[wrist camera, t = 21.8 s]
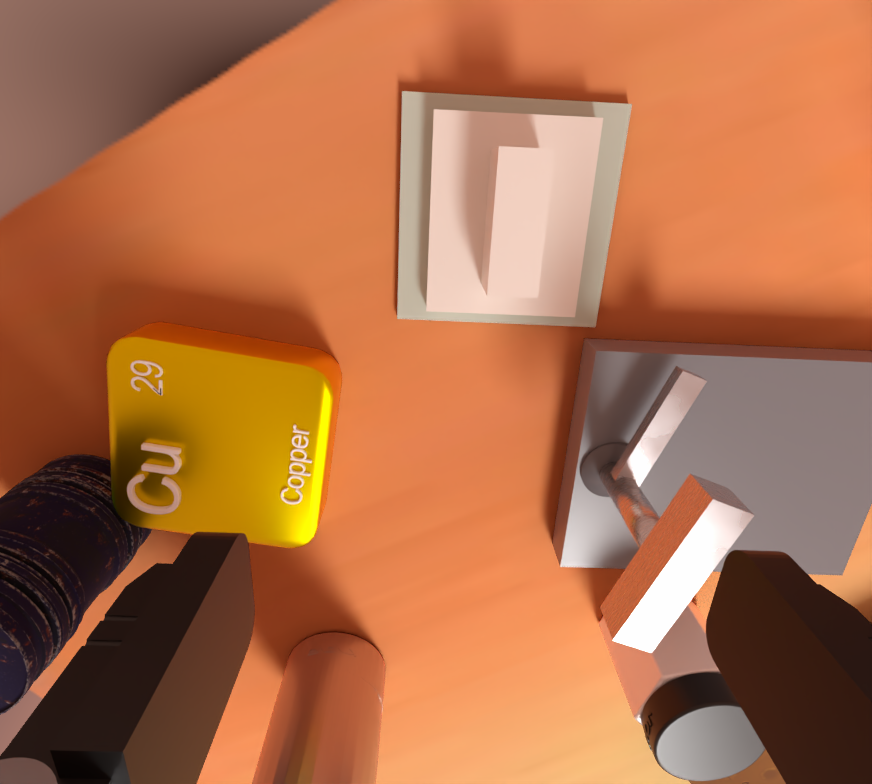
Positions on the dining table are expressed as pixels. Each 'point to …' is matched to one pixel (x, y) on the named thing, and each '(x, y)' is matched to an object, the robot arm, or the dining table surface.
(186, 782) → the robot arm
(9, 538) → the storage jar
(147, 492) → the element tile
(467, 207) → the cover
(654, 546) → the t key
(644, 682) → the jar
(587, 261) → the mat
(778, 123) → the dining table surface
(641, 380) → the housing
